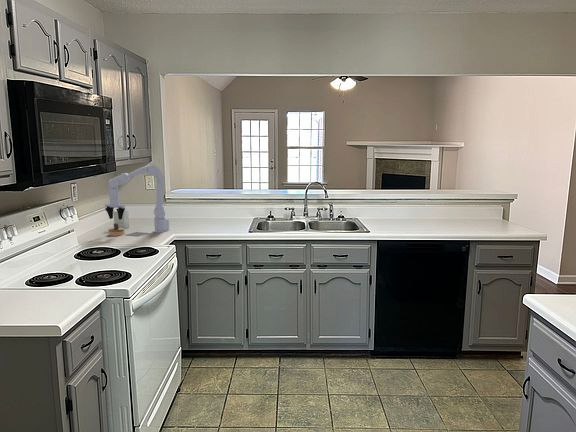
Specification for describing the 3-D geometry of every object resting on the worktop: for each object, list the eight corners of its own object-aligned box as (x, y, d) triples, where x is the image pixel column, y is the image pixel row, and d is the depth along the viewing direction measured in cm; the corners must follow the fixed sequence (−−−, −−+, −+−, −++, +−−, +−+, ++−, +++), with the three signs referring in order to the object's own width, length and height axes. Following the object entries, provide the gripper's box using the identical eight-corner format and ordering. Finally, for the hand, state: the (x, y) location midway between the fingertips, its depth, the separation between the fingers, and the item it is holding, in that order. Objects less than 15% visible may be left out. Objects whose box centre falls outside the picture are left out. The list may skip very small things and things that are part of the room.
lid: (117, 228, 290) (116, 221, 290) (127, 229, 286) (127, 223, 285) (105, 231, 282) (104, 224, 281) (115, 232, 278) (115, 225, 277)
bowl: (116, 233, 290) (116, 228, 290) (127, 234, 287) (127, 229, 286) (106, 235, 282) (105, 231, 282) (117, 236, 279) (117, 232, 278)
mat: (136, 232, 292) (136, 231, 291) (149, 233, 287) (149, 233, 287) (124, 235, 282) (124, 235, 282) (137, 237, 277) (137, 236, 277)
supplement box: (129, 227, 309) (128, 209, 307) (124, 229, 302) (123, 211, 300) (119, 227, 310) (118, 209, 308) (114, 229, 303) (112, 211, 301)
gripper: (100, 198, 280) (102, 219, 282) (118, 198, 274) (120, 220, 276) (109, 196, 286) (110, 217, 289) (126, 197, 281) (128, 218, 283)
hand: (115, 219), depth 283 cm, fingers open, 7 cm apart
